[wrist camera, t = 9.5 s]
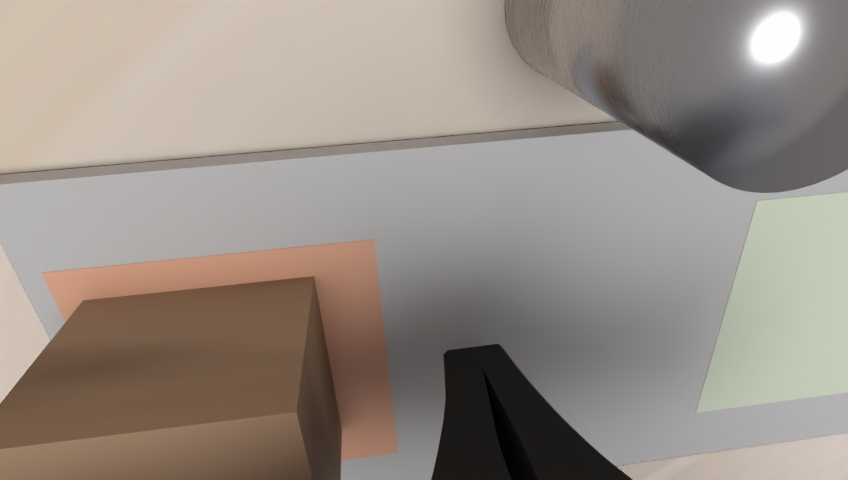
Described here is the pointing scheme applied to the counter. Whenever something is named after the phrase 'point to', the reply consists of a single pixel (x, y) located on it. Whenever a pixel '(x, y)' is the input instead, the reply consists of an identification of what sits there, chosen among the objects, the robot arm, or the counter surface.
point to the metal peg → (706, 78)
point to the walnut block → (180, 390)
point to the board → (487, 279)
